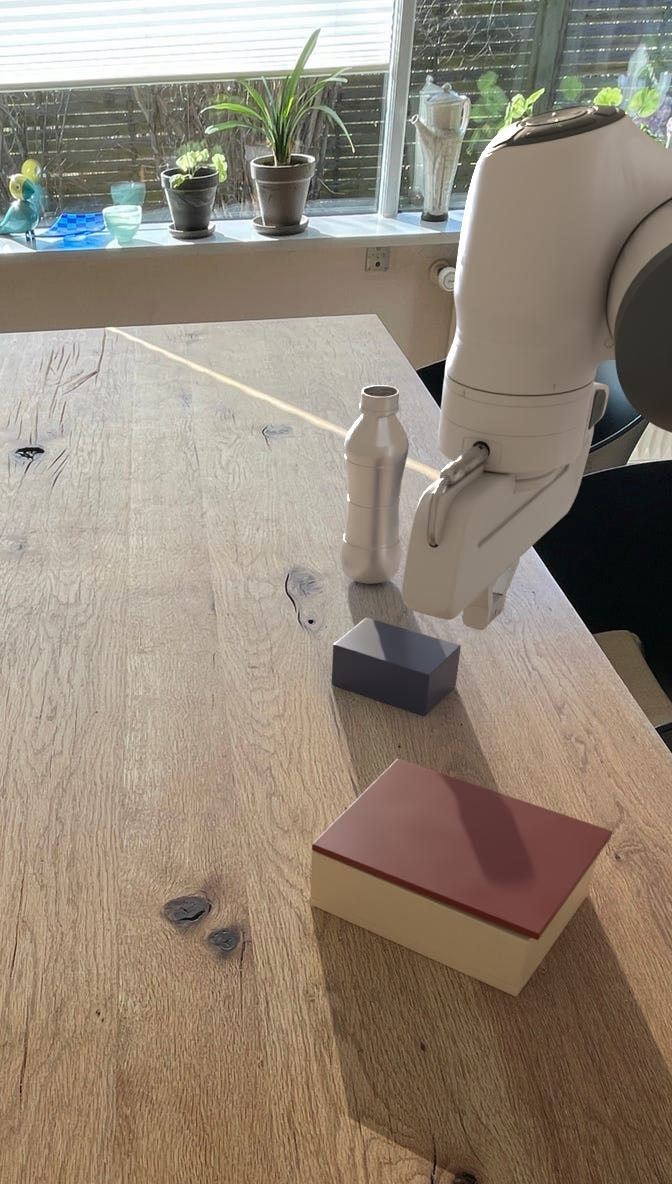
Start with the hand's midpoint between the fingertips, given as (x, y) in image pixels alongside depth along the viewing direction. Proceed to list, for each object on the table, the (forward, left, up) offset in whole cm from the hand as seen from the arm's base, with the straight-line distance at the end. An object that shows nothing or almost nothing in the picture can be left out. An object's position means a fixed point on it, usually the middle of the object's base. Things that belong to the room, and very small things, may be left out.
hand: (482, 619), depth 79 cm
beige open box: (-4, +8, -19) cm, 21 cm away
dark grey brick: (+14, -16, -19) cm, 29 cm away
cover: (-4, +8, -13) cm, 16 cm away
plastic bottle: (+27, -34, -19) cm, 48 cm away
